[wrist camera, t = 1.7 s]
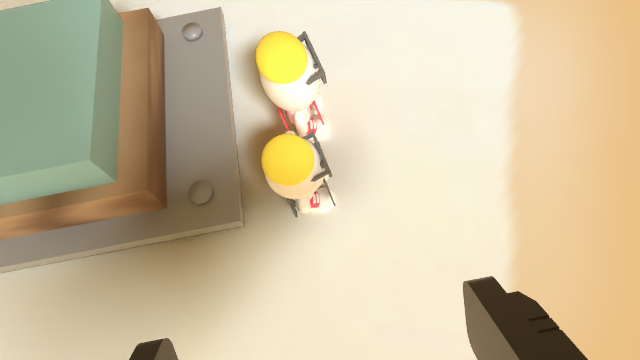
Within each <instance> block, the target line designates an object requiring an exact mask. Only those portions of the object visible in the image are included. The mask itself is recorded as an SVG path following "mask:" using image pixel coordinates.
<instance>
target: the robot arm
mask: <svg viewBox="0 0 640 360" xmlns="http://www.w3.org/2000/svg"><path fill="white" fill-rule="evenodd" d="M463 295H464V305H465V315H466V326H467V333H468V337H469V341H470V344H471V347H472V349H473V352H474V354H475V356H476V357H477V359H478V360H588V359H587V358H586V357H585V356H584V355H583V354H582V352H581V351H580V350H579V349H578V348H577V347H576V346H575V344H574V343H573V342H572V341H571V340H570V339H569V338H568V337H567V336H566V334H565V333H564V332H563V331H562V330H560V329H559V326H558V325H557V324H556V323H555V322H554V321H553V320H552V318H549V315H548V314H547V313H546V312H545V311H544V309H543V308H542V307H541V306H540V305H539V304H538V303H537V302H536V301H535V300H533V299H531V298H529V297H527V296H526V295H524V294H522V293H520V292H519V291H517V292H512V293H506V292H505V290H504V289H503V288H502V287H501V285H500V284H499V283H498V282H497V280H496V279H495V278H494V277H492V276H490V277H485V278H480V279H474V280H469V281H464V283H463ZM129 360H178V358H177V355H176V352H175V350H174V347H173V345H172V342H171V341H170V340H169V339H168V338H165V339H160V340H155V341H150V342H145V343H140V344H138V345H137V346H136V348H135V350H134V352H133V354H132V355H131V357H130V359H129Z"/></svg>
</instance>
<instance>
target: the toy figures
mask: <svg viewBox="0 0 640 360" xmlns="http://www.w3.org/2000/svg"><path fill="white" fill-rule="evenodd" d="M302 33H303V34H301V35H300V36H299V37H297V38H296V37H295V36H293V35H292V34H289V33H287V32H282V31H276V32H272V33H269V34H267V35H266V36H264V37H263V38H262V39H261V40H260V42H259V43H258V45H257V48H256V52H255V59H256V64H257V67H258V69H259V75H260V80H261V84H262V86H263V89H264V91H265V93H266V94H267V96H268V97H269V99H270V100H271V101H272V102H273V103H274V104H275V105H277V107H278V111H279V114H280V116H281V118H282V120H283V123H284V125H285V127H286V129H287V132H285V133H284V134H282V135H278V136H276V137H274V138H273V139H271V140H270V141H269V142H268V143H267V144H266V146H265V148H264V150H263V153H262V158H261V162H262V167H263V170H264V174H265V177H266V180H267V182H268V184H269V186H270V187H271V188H272V189H273V190H274V191H275V192H276V193H277V194H279V195H281V196H283V197H285V198H287V200H288V202H289V204H290V206H291V209H292V211H293V213H294V215H295V217H297V211H296V209H295V207H296V206H295V203H294V201H295V202H297V206H298V209H299V211H300V212H301V213H308V212H311V213H312V212H317V213H325V212H328V211H329V210H331V209H332V208H333V207H334V206H336V205H335V203H336V196H335V194H334V192H333V191H332V190H331V189H329V188H328V185H327V183H326V181H327V179H328V175H329V177H332V173H331V171H330V169H329V166H328V164H327V162H326V159H325V157H324V155H323V152H322V150H321V147H320V144H319V142H318V141H323V140H326V139H327V138H328V137H329V136H330V134H331V132H332V125H331V123H330V121H329V119H328V118H327V117H326V116H324V115H321V114H320V112H321V111H322V109H323V107H324V102H323V99H322V97H321V95H320V94H319V93H318V88H319V79H320V78H321V79H322V81H323V83H324V84H325V83H327V81H326V76H325V72H324V70H323V68H322V66H321V63H320V61H319V59H318V57H317V55H316V53H315V51H314V49H313V47H312V44H311V42H310V40H309V38H308V36H307V34H306V32H305V31H304V32H302ZM304 40H305V42H306V46H307V47H306V46H304V45H303V44H302V43H301V42H303V41H304ZM282 109H284V110H285V112H286V115H287V117H288V119H289V121H290V122H291V123H292V124H294V125H295V127H296V130H297V132H298V135H299V136H300V137H299V136H297V135H295V133H294V132H293V131H289V127H288V124H287V122H286V120H285V117H284V114H283V112H282ZM310 116H313V117H311V118H310ZM308 140H314V141H315V143H314V144H313V143H312V142H310V141H308ZM323 184H325V186H326V187H321V188H319V187H320V186H322V185H323Z"/></svg>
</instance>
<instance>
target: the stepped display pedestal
mask: <svg viewBox="0 0 640 360" xmlns="http://www.w3.org/2000/svg"><path fill="white" fill-rule="evenodd" d="M241 226H244V216H243V206H242V196H241V186H240V176H239V166H238V155H237V145H236V135H235V125H234V115H233V105H232V94H231V84H230V74H229V64H228V54H227V44H226V34H225V23H224V15H223V13H222V10H221V7H219V8H214V9H209V10H204V11H199V12H194V13H189V14H183V15H178V16H173V17H168V18H163V19H158V20H155V18H154V17H153V15H152V13H151V11H150V10H149V8H145V9H140V10H135V11H130V12H125V13H120V14H117V12H116V11H115V9H114V8H113V6H112V5H111V3H110V1H109V0H51V1H46V2H41V3H36V4H31V5H26V6H21V7H16V8H11V9H6V10H1V11H0V273H4V272H9V271H14V270H19V269H24V268H29V267H35V266H40V265H45V264H50V263H55V262H60V261H66V260H71V259H76V258H81V257H86V256H91V255H97V254H102V253H107V252H112V251H117V250H123V249H128V248H133V247H138V246H143V245H148V244H154V243H159V242H164V241H169V240H174V239H179V238H185V237H190V236H195V235H200V234H205V233H210V232H216V231H221V230H226V229H231V228H236V227H241Z"/></svg>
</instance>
